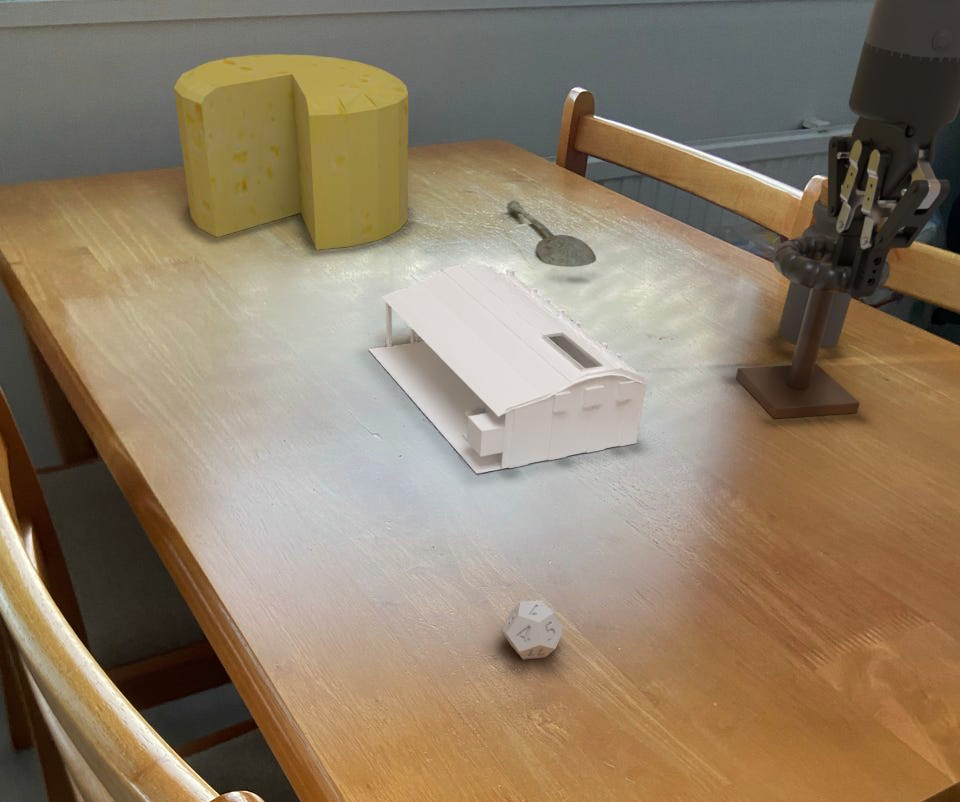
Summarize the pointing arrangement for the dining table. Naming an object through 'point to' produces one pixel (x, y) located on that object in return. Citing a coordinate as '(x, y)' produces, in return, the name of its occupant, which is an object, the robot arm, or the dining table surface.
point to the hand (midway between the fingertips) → (850, 287)
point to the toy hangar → (508, 371)
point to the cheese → (295, 146)
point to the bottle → (800, 293)
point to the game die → (532, 629)
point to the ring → (816, 264)
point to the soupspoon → (556, 244)
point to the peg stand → (801, 373)
